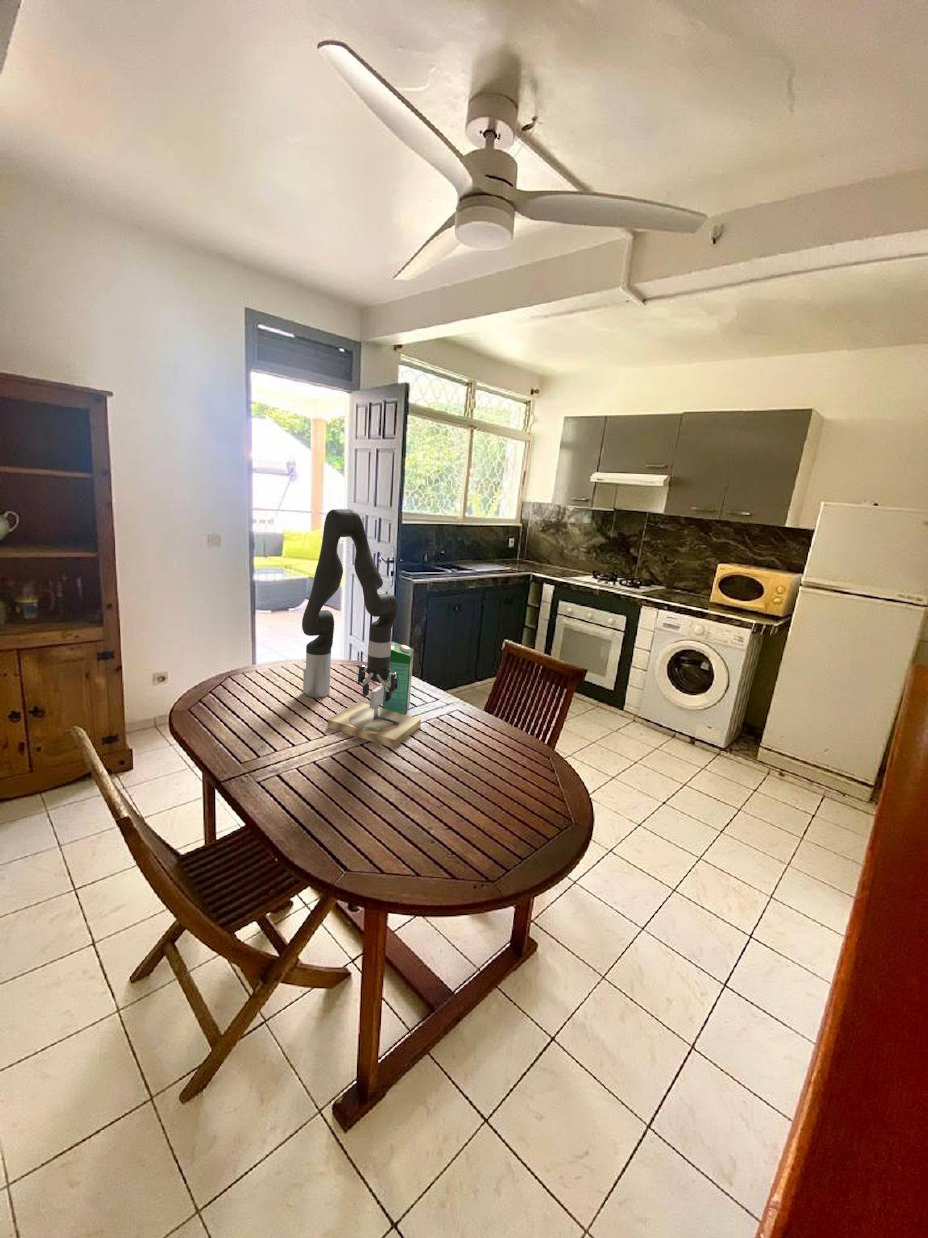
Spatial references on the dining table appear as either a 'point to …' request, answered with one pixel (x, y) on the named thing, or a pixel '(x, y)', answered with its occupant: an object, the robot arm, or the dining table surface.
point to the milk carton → (400, 678)
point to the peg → (378, 702)
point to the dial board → (374, 724)
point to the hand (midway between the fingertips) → (376, 698)
